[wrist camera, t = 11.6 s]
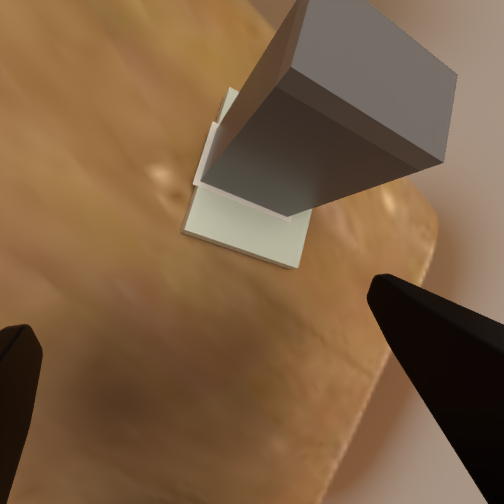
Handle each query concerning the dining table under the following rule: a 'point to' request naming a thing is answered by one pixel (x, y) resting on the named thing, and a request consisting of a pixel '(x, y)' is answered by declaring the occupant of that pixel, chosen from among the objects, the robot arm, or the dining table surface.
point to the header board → (242, 217)
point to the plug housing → (332, 110)
